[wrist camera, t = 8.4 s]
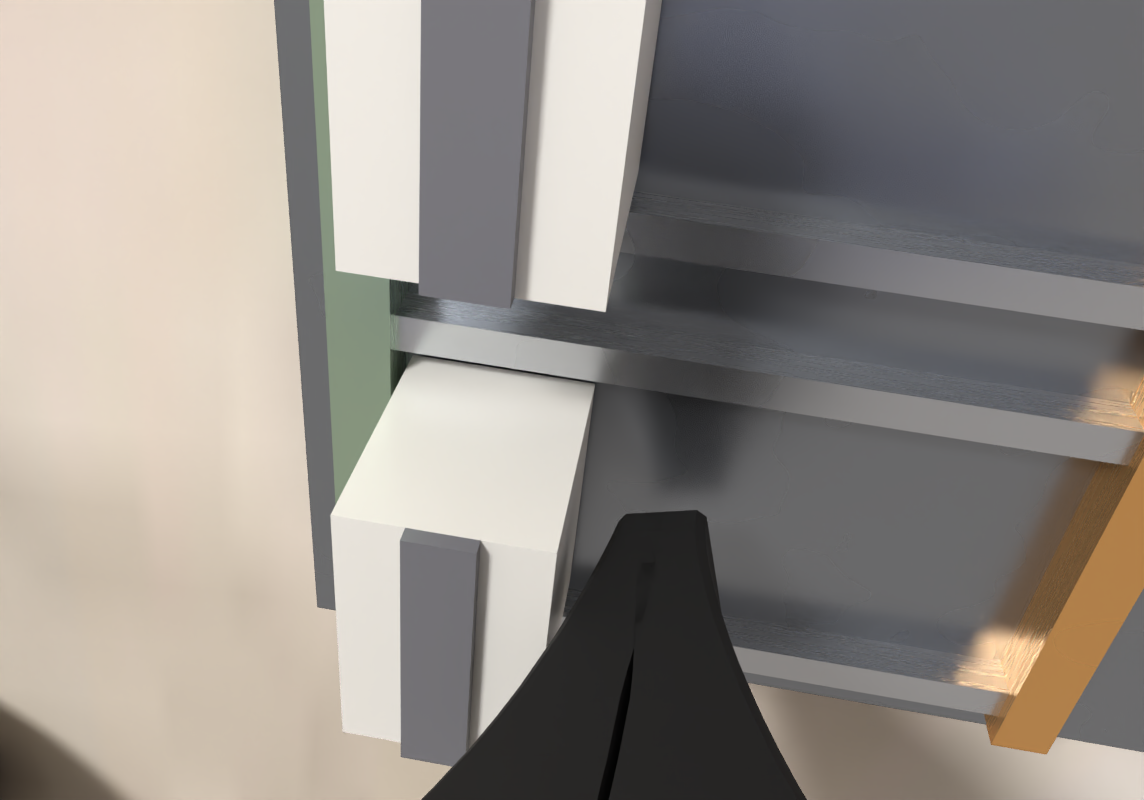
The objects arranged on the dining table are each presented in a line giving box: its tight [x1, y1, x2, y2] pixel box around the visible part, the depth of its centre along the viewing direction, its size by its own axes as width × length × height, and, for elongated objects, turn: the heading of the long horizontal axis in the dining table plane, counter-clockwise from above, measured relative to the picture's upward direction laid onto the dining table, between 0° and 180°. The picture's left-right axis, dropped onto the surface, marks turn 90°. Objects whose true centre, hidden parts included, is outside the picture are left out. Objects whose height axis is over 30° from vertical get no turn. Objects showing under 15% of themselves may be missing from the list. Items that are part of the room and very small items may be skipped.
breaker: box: [324, 0, 662, 312], centre depth 9 cm, size 2×4×3 cm, turn 174°
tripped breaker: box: [330, 355, 595, 766], centre depth 13 cm, size 2×4×3 cm, turn 175°
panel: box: [274, 0, 1144, 754], centre depth 11 cm, size 14×20×2 cm
